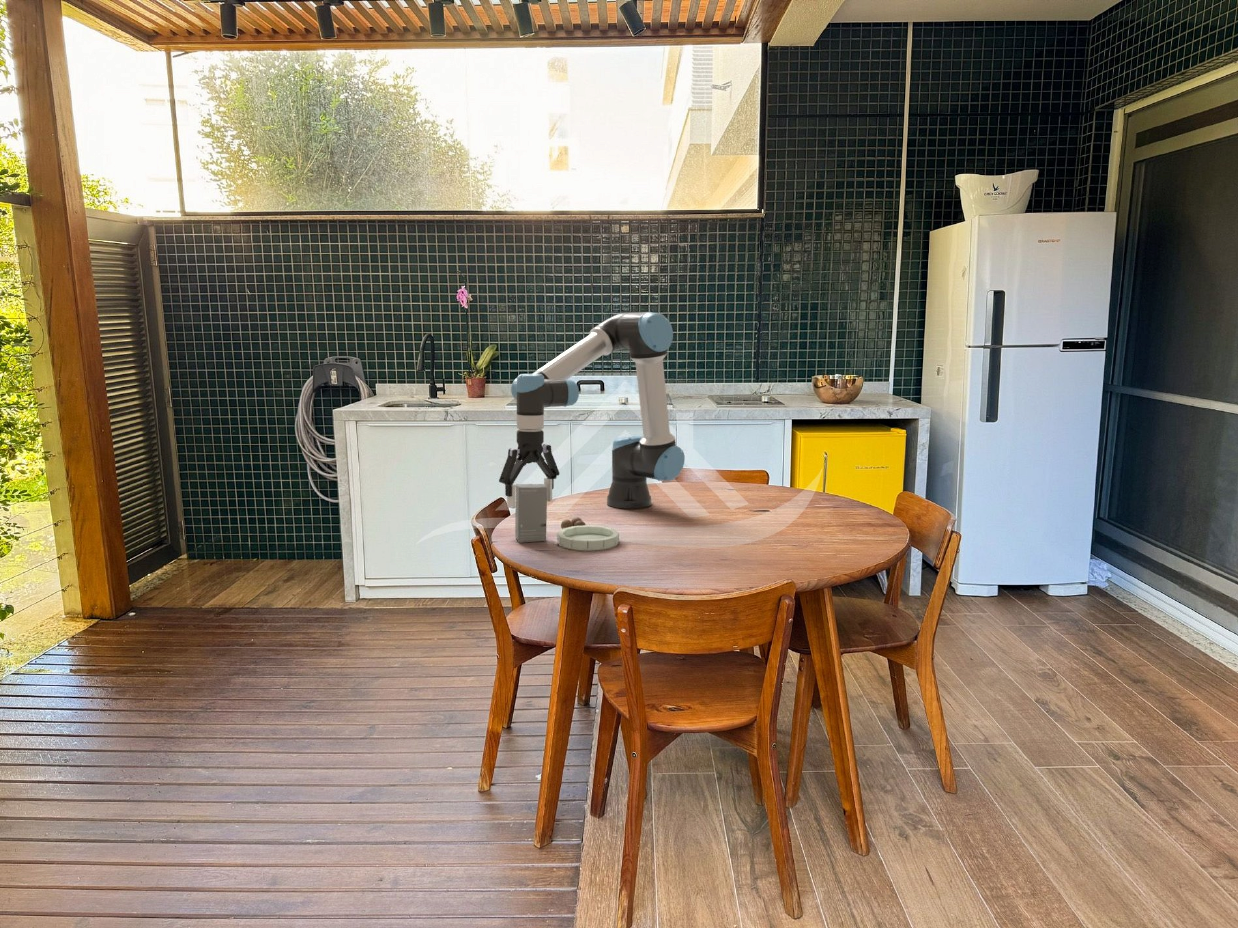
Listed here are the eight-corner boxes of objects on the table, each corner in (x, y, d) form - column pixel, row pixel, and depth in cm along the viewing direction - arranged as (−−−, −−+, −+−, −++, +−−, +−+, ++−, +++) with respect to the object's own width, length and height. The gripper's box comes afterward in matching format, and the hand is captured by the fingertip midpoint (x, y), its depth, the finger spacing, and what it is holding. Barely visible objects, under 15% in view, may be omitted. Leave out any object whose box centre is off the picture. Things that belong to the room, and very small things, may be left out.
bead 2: (577, 527, 252) (577, 515, 251) (585, 529, 249) (585, 517, 249) (568, 529, 249) (568, 517, 248) (576, 531, 247) (576, 519, 246)
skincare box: (518, 543, 233) (517, 488, 230) (514, 536, 240) (513, 483, 237) (548, 541, 235) (547, 486, 233) (543, 535, 242) (543, 481, 239)
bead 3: (580, 530, 248) (580, 518, 247) (588, 532, 245) (588, 520, 245) (571, 532, 245) (571, 520, 245) (579, 534, 243) (579, 522, 242)
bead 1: (567, 529, 249) (567, 517, 248) (575, 531, 246) (575, 519, 246) (558, 531, 246) (558, 519, 246) (566, 533, 244) (566, 521, 243)
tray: (588, 531, 246) (588, 522, 246) (630, 542, 235) (630, 532, 234) (545, 542, 234) (545, 532, 234) (587, 554, 223) (587, 544, 222)
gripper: (554, 425, 244) (553, 496, 247) (485, 431, 226) (486, 508, 229) (571, 427, 239) (571, 500, 242) (503, 434, 221) (503, 512, 224)
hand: (530, 504), depth 236 cm, fingers open, 13 cm apart
